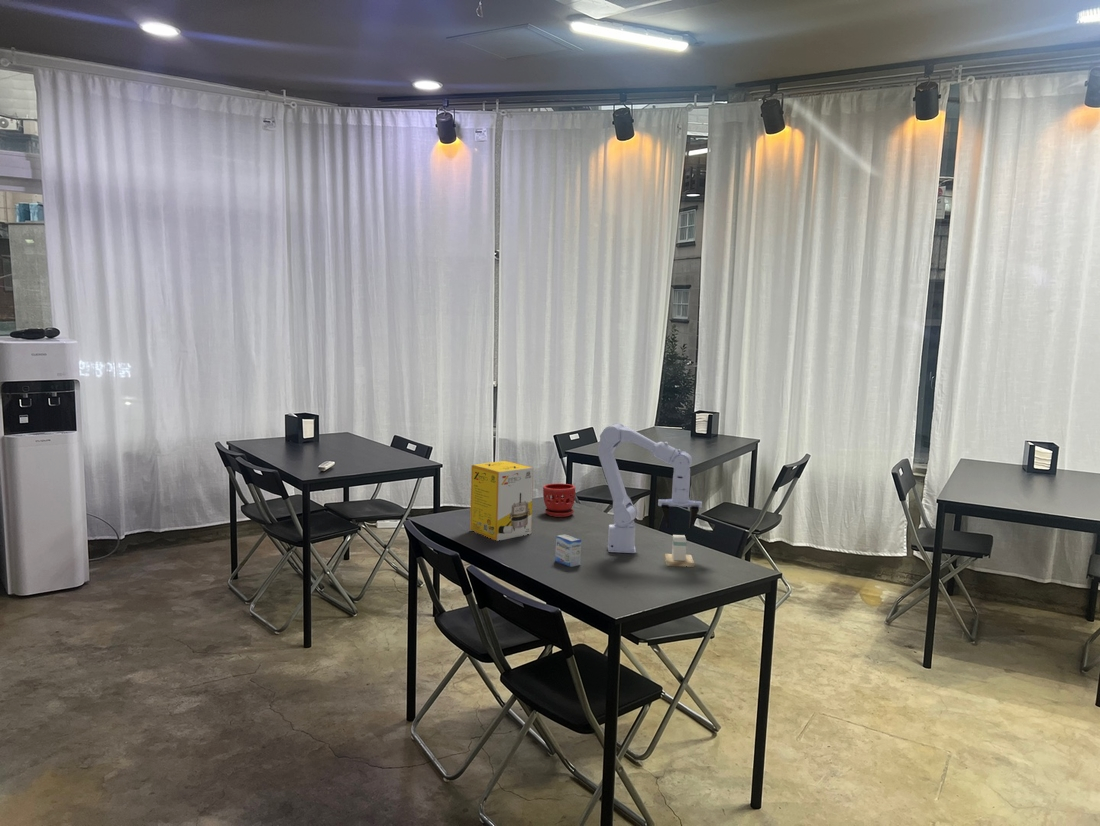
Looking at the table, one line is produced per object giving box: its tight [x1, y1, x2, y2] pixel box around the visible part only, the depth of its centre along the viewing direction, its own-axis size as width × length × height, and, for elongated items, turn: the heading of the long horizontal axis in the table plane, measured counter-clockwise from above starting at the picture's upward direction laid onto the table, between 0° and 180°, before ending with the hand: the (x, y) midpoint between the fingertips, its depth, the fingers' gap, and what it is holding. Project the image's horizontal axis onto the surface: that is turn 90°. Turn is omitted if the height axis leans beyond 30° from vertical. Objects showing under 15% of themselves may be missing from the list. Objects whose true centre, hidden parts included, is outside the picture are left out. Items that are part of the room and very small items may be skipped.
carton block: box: [671, 534, 688, 561], centre depth 265 cm, size 4×6×7 cm
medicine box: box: [554, 533, 582, 568], centre depth 260 cm, size 8×4×9 cm, turn 40°
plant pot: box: [542, 483, 576, 518], centre depth 323 cm, size 13×13×12 cm
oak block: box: [663, 553, 695, 568], centre depth 265 cm, size 9×9×2 cm
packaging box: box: [469, 460, 534, 542], centre depth 293 cm, size 16×16×25 cm
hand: (678, 527), depth 269 cm, fingers open, 7 cm apart
